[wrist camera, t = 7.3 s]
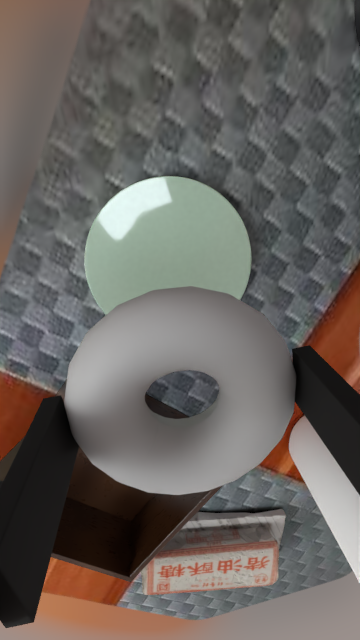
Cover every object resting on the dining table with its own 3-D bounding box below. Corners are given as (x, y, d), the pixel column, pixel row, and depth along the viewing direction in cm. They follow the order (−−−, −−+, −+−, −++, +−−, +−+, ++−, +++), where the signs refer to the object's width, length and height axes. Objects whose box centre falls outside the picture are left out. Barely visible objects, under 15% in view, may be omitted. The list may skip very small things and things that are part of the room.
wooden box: (213, 429, 35) (228, 480, 29) (132, 521, 39) (130, 582, 33) (79, 359, 30) (63, 402, 24) (3, 472, 35) (-27, 533, 28)
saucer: (269, 197, 27) (272, 197, 26) (226, 347, 32) (228, 351, 31) (95, 157, 24) (93, 156, 24) (78, 326, 29) (76, 330, 28)
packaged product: (139, 611, 38) (139, 556, 35) (140, 567, 43) (140, 514, 39) (285, 598, 40) (300, 544, 37) (271, 557, 45) (283, 506, 41)
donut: (314, 318, 15) (111, 240, 13) (360, 354, 12) (102, 259, 10) (225, 469, 19) (48, 430, 16) (242, 528, 15) (26, 490, 13)
